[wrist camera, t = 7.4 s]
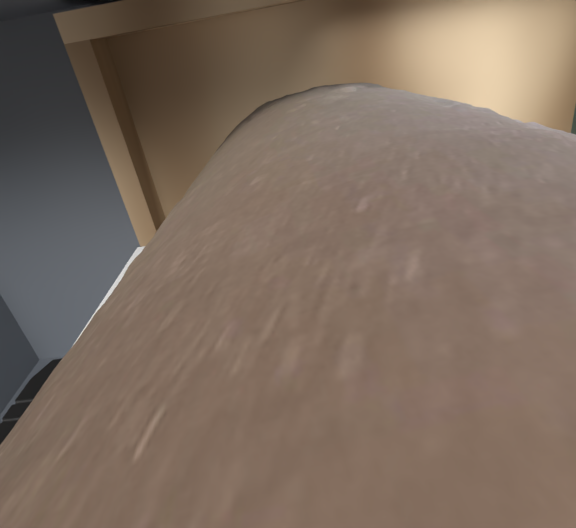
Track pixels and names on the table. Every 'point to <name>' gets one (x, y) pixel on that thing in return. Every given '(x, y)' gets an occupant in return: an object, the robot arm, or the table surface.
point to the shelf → (297, 70)
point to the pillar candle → (329, 335)
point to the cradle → (50, 198)
